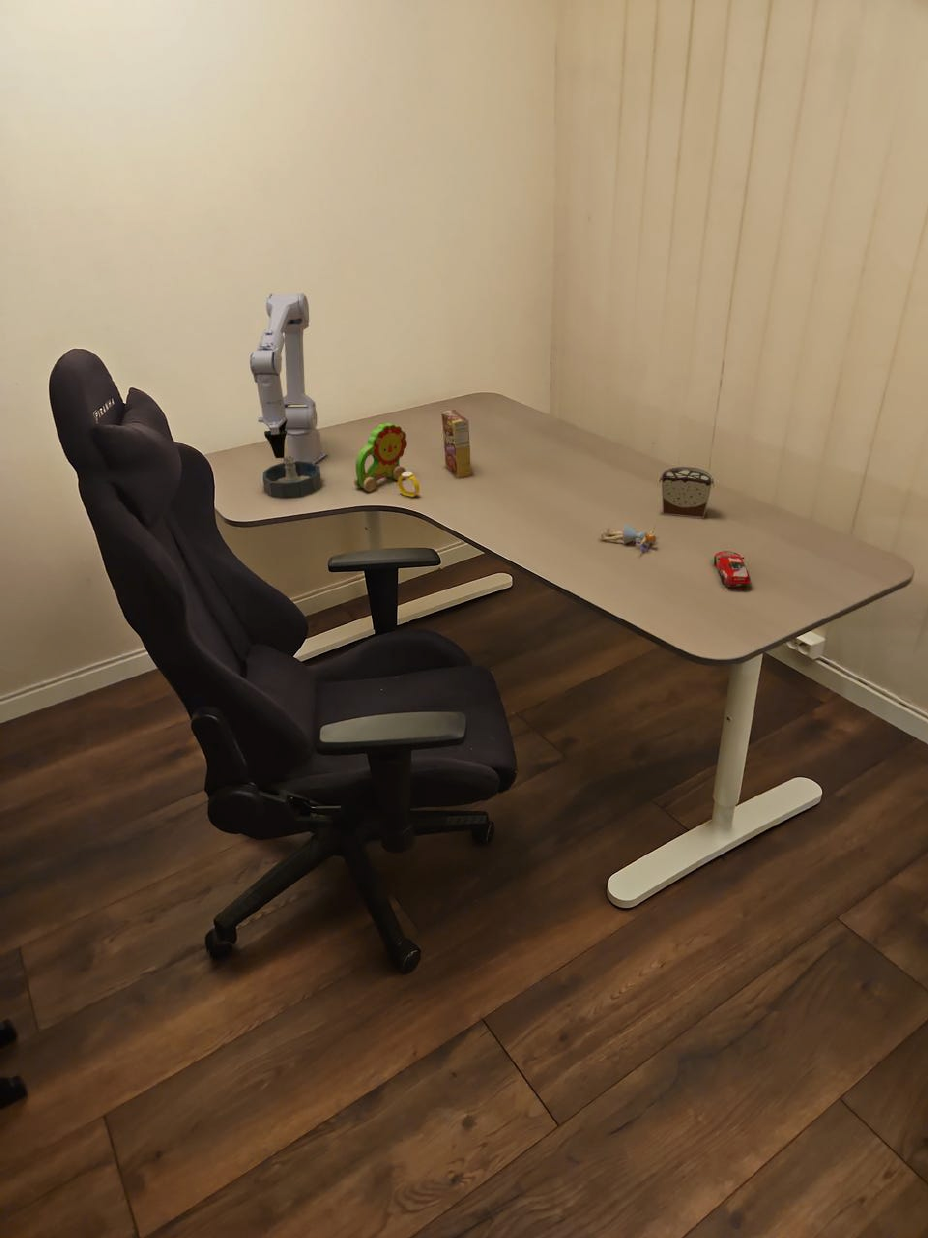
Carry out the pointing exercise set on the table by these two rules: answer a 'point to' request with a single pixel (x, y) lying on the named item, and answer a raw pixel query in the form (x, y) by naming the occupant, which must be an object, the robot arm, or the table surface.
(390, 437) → the toy lion
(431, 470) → the table surface
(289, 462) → the rook chess piece
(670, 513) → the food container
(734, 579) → the race car
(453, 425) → the candy box
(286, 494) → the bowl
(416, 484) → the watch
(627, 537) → the fairy figurine
